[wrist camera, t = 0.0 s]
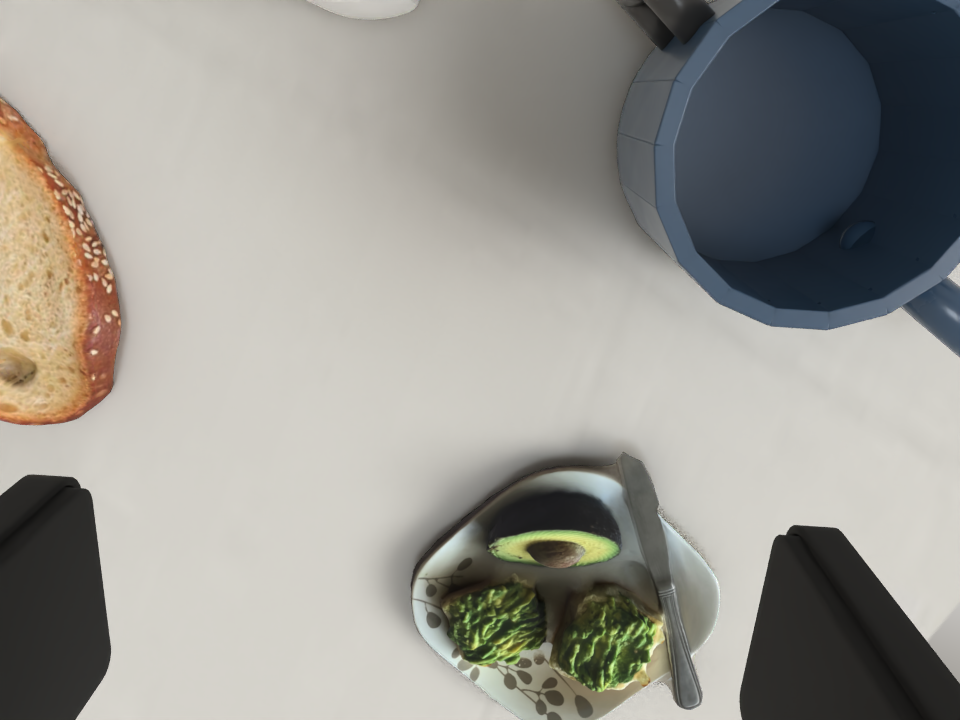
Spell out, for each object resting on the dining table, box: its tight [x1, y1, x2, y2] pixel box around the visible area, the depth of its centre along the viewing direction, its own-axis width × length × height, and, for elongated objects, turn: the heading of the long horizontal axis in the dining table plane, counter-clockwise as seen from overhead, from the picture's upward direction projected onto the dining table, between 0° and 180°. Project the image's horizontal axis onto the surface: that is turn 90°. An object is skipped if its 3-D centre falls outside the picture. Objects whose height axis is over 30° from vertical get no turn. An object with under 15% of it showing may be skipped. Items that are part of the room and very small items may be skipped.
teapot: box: [617, 0, 960, 330], centre depth 33 cm, size 14×14×10 cm
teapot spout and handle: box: [616, 0, 960, 357], centre depth 33 cm, size 2×23×8 cm, turn 47°
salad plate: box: [411, 452, 720, 720], centre depth 45 cm, size 19×18×5 cm
